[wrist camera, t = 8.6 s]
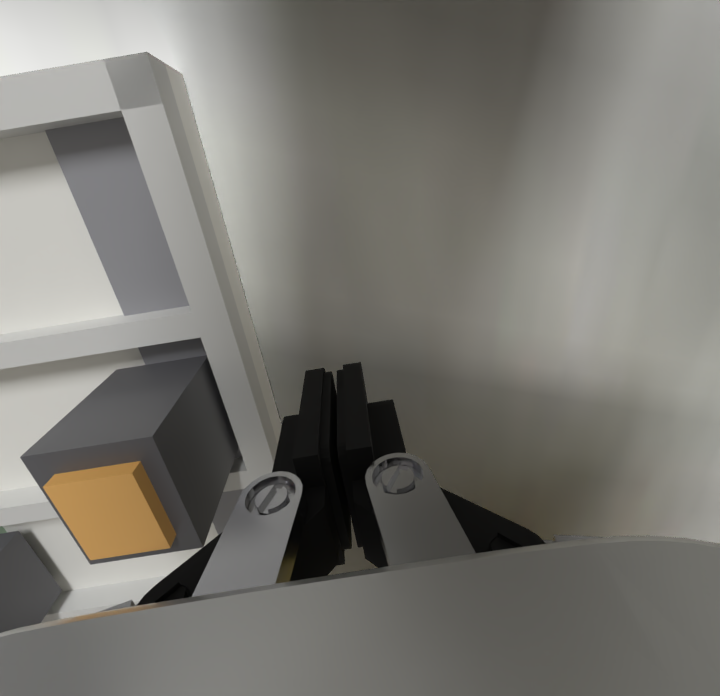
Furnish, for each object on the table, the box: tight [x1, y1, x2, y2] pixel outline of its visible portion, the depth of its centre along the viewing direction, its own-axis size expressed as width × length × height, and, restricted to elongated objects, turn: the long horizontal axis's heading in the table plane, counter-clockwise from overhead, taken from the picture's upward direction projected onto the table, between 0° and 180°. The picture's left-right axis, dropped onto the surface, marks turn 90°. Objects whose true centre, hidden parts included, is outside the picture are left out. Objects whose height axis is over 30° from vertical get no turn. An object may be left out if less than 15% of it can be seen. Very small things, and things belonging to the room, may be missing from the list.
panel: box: [0, 52, 282, 623], centre depth 14 cm, size 15×19×2 cm
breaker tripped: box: [20, 355, 239, 565], centre depth 11 cm, size 3×4×5 cm
